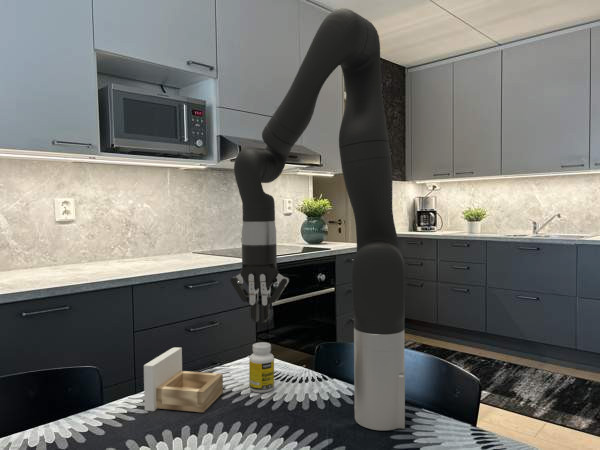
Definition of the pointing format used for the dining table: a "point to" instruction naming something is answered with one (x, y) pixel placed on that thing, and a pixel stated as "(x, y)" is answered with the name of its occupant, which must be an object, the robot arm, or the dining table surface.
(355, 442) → the dining table surface
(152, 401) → the backstop board
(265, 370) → the supplement bottle
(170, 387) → the socket block
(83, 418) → the dining table surface
